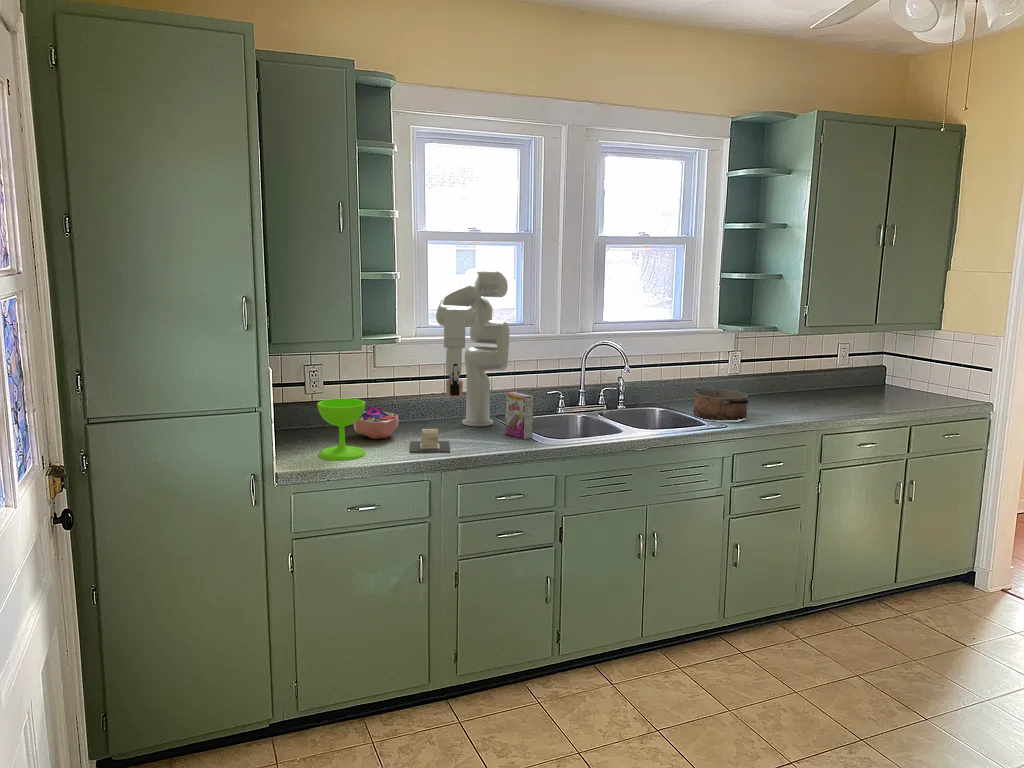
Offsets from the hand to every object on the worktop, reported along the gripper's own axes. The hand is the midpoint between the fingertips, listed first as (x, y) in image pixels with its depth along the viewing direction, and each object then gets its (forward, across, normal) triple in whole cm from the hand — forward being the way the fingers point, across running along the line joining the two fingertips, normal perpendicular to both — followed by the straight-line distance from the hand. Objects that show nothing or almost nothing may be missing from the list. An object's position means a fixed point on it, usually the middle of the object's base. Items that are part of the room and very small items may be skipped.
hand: (454, 393), depth 275 cm
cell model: (+20, -16, -28) cm, 38 cm away
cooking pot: (+20, -44, +120) cm, 129 cm away
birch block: (+19, 0, -8) cm, 21 cm away
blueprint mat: (+20, 0, -8) cm, 21 cm away
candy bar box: (+20, -15, +26) cm, 36 cm away
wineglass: (+20, +7, -39) cm, 44 cm away
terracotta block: (+1, 0, 0) cm, 1 cm away
